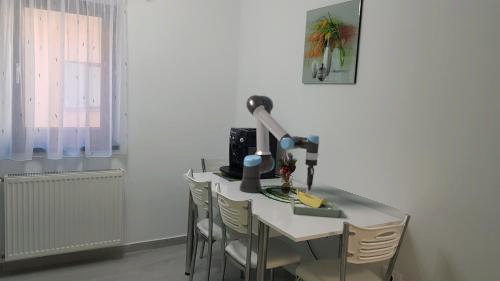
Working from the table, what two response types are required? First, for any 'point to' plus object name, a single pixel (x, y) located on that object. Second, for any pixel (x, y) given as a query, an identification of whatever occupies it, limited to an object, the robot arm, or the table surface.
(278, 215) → the table surface
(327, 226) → the table surface
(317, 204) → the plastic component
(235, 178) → the table surface
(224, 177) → the table surface
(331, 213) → the tray
